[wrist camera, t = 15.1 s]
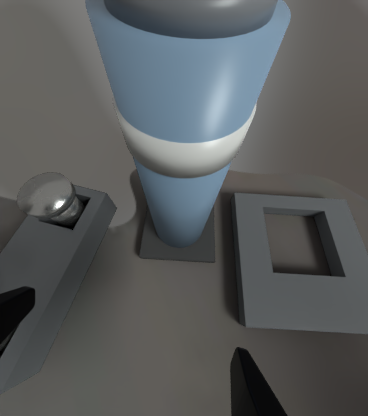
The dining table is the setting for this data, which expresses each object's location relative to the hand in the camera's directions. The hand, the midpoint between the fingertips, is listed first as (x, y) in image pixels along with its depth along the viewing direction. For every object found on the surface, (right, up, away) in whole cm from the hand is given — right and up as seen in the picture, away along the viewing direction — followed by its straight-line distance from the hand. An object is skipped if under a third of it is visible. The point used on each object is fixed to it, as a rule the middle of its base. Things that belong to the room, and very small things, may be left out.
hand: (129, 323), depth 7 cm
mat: (+2, +3, +11) cm, 12 cm away
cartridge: (+2, +3, +10) cm, 11 cm away
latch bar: (-9, -1, +9) cm, 13 cm away
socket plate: (+13, 0, +10) cm, 17 cm away
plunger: (-8, +4, +9) cm, 13 cm away
